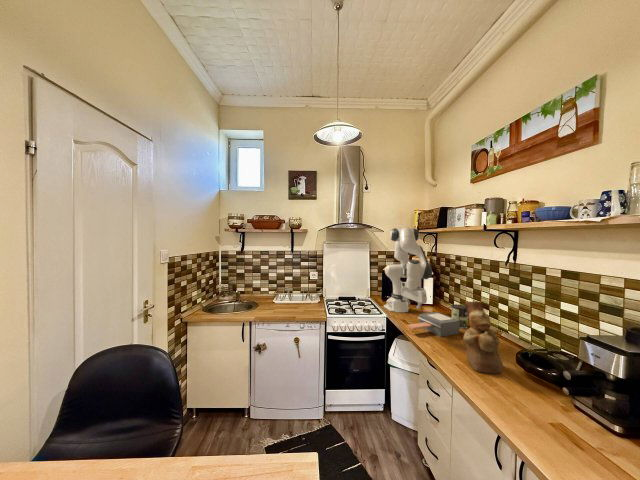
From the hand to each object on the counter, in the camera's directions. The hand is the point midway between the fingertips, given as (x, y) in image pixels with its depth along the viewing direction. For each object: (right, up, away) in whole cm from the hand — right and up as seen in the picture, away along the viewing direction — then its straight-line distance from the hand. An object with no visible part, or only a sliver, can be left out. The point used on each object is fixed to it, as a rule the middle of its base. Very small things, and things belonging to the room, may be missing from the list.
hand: (413, 306), depth 161 cm
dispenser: (+20, -18, +8) cm, 28 cm away
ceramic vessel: (+20, -19, -36) cm, 45 cm away
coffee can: (+38, -18, +15) cm, 45 cm away
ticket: (+7, -14, +3) cm, 16 cm away
